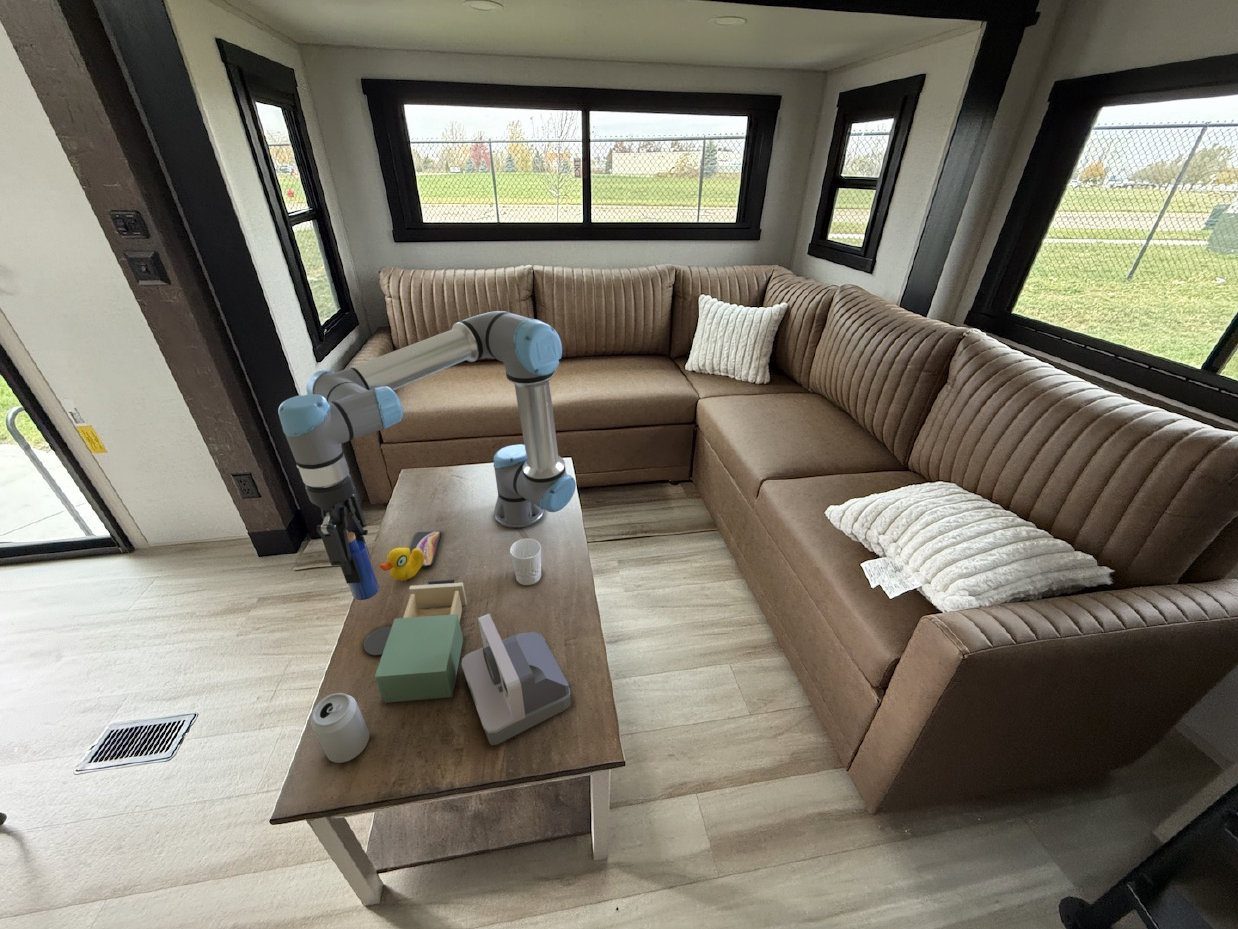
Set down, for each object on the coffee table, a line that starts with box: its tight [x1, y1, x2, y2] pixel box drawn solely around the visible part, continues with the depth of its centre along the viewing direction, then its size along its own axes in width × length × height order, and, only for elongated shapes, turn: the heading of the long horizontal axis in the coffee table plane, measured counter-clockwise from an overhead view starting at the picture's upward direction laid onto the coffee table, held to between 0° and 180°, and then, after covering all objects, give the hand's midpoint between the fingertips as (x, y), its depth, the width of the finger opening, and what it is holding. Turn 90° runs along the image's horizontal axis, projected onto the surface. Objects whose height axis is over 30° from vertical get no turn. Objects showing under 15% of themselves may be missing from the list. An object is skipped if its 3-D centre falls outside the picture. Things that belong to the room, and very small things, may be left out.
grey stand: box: [461, 613, 572, 746], centre depth 101 cm, size 21×21×15 cm
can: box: [309, 692, 370, 764], centre depth 91 cm, size 8×8×12 cm
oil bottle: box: [347, 531, 380, 601], centre depth 102 cm, size 5×5×15 cm
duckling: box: [379, 547, 424, 581], centre depth 129 cm, size 11×5×10 cm, turn 144°
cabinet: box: [374, 614, 464, 704], centre depth 107 cm, size 15×14×9 cm
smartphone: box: [409, 530, 442, 569], centre depth 141 cm, size 8×1×15 cm
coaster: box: [363, 625, 392, 657], centre depth 115 cm, size 8×8×1 cm
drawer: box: [402, 578, 468, 622], centre depth 118 cm, size 18×12×7 cm
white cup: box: [509, 537, 542, 586], centre depth 131 cm, size 8×8×10 cm
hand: (359, 571), depth 103 cm, fingers closed on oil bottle, 5 cm apart
